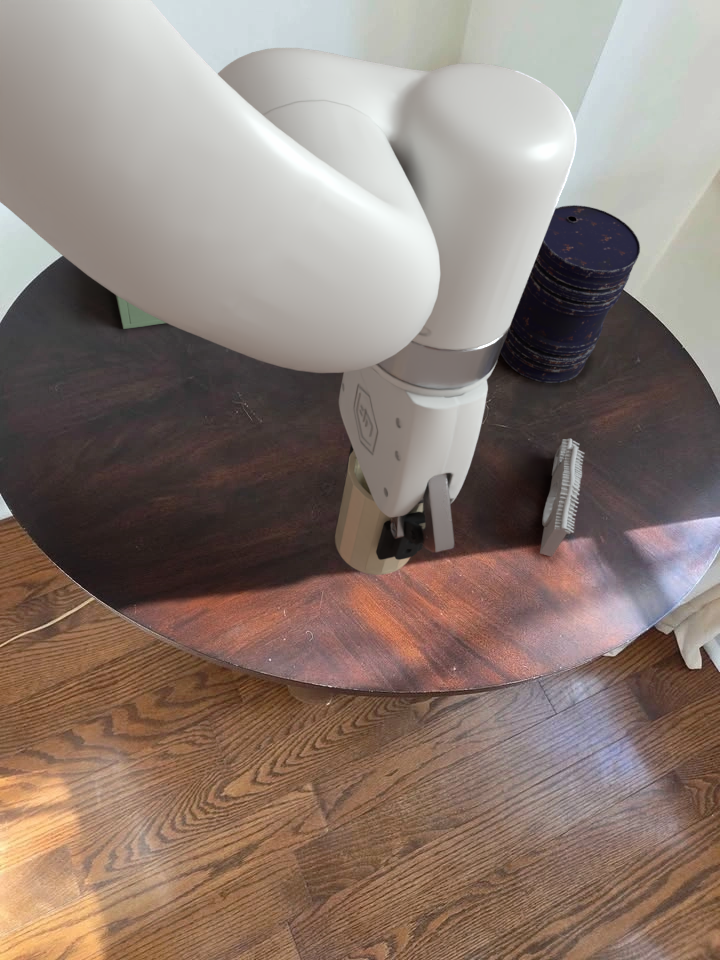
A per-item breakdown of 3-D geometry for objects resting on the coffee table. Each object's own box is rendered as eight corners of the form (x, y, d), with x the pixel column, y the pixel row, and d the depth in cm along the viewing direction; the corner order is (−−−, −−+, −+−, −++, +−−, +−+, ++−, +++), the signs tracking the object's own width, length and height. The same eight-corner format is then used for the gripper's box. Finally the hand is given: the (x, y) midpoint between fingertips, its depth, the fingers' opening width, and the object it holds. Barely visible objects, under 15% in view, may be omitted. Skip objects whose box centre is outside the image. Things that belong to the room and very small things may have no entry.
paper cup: (348, 583, 56) (365, 515, 49) (324, 514, 59) (337, 441, 52) (425, 565, 58) (452, 497, 50) (398, 499, 61) (420, 426, 53)
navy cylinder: (604, 370, 84) (662, 259, 72) (529, 394, 81) (578, 282, 69) (553, 309, 89) (599, 196, 77) (480, 330, 86) (518, 215, 74)
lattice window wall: (552, 455, 77) (572, 417, 72) (570, 460, 76) (591, 422, 72) (535, 556, 70) (556, 521, 65) (555, 561, 70) (577, 527, 65)
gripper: (318, 228, 44) (298, 428, 59) (425, 467, 35) (370, 634, 50) (439, 216, 46) (391, 412, 61) (569, 439, 37) (476, 607, 52)
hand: (382, 510), depth 55 cm, fingers closed on paper cup, 6 cm apart
